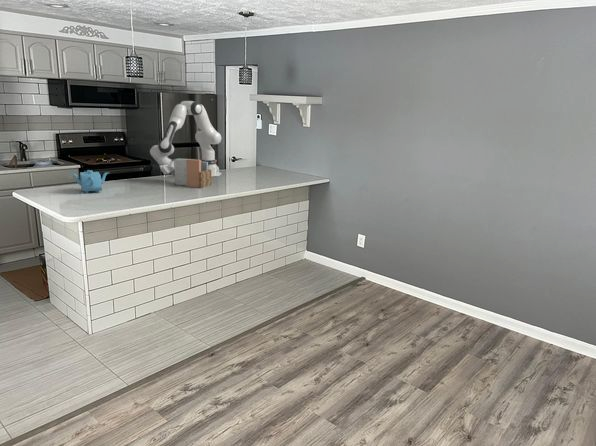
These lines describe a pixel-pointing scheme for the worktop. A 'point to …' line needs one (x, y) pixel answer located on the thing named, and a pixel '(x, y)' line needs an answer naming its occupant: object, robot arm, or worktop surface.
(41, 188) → the worktop surface
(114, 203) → the worktop surface
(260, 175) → the worktop surface
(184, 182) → the hard drive box
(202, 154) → the robot arm
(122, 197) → the worktop surface
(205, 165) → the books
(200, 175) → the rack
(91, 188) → the teakettle
